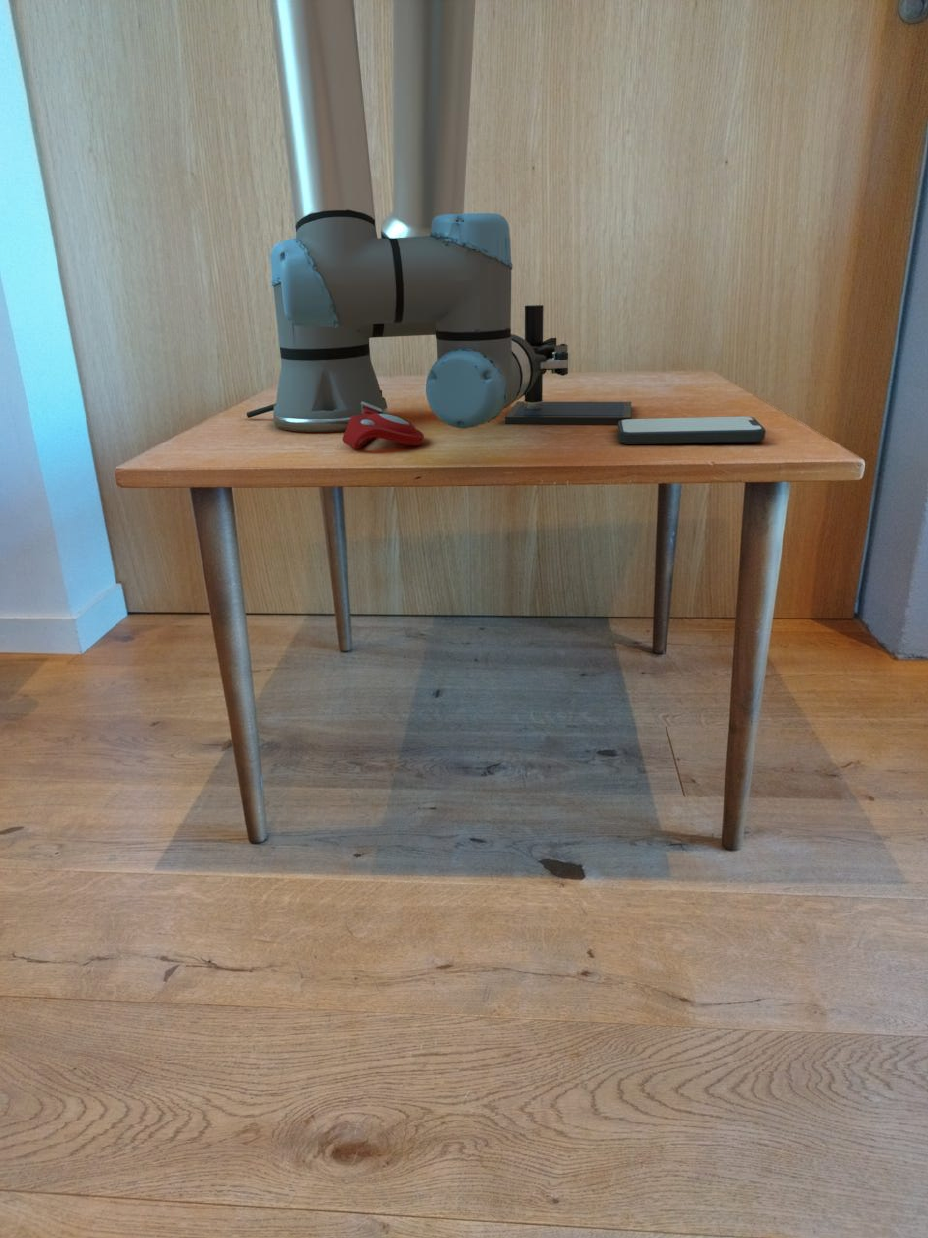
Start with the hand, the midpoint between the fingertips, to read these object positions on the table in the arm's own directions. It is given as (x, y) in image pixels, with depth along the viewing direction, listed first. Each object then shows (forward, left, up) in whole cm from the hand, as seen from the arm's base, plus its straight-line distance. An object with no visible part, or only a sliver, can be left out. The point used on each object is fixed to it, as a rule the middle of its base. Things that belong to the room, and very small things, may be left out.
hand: (542, 348), depth 112 cm
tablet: (+6, -3, -8) cm, 11 cm away
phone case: (+25, -9, -8) cm, 28 cm away
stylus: (+2, -5, -7) cm, 9 cm away
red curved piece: (-5, -28, -8) cm, 30 cm away
